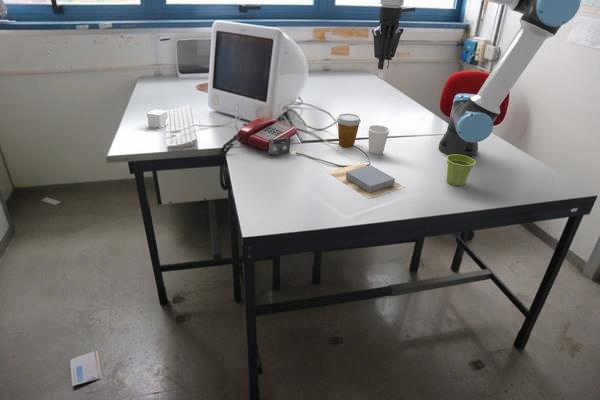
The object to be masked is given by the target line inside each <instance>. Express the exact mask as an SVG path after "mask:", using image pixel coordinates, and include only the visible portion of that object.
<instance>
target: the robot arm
mask: <svg viewBox="0 0 600 400" xmlns="http://www.w3.org/2000/svg"><path fill="white" fill-rule="evenodd" d="M483 1H485V2H489V3H493V4H498V5H503V6H507V7H508V8H509V10H510V11H513V12H516V13H520V14H522V16H521V17H520V18H519V23H520V28H519V29H518V30H517V32H516V34H515V35H514V37H513V39H512V40H511V42H509V44H508V46H507V48H506V49H505V50H504V52H503V54H502V55H501V56H500V58H499V60H498V61H497V63H496V64H495V66H494V67H493V69H492V70H491V72H490V74H489V75H488V77H487V78H486V79H485V81H484V83H483V84H482V86H481V87H480V89H479V90H478V92H477V94H475V93H457V94H456V95H455V96H454V98H453V100H452V106H451V111H450V115H449V119H448V123H447V129H446V131H445V133H444V134H443V136H442V137H441V140H440V141H439V144H438V150H439V152H441V153H443V154H445V155H447V156H449V155H453V154H459V155H465V156H468V157H471V158H474V157H476V156H477V154H478V151H479V142H483V141H484V140H486V139H488V137H490V136H491V135H492V132H493V129H494V122H495V121H496V119H497V118H498V116H499V115H500V114H501V108H500V106H501V104H502V103H503V101H504V100H505V99H506V97H507V96H508V95H509V93H510V92H511V91H512V88H513V87H514V86H515V84H516V83H517V81H518V80H519V78H521V76H522V75H523V73H524V72H525V71H526V69H527V67H528V66H529V64H530V63H531V61H532V60H533V59H534V57H535V56H536V54H537V53H538V51H539V50H540V49H541V47H542V46H543V44H544V43H545V42H546V40H547V39H550V38H553V37H555V35H556V34H557V33H558V32H559V30H560V29H561V27H562V26H563V25H566V24H567V23H569V22H570V21H571V20H572V19H573V18H575V16H576V15H577V13H578V11H579V9H580V6H581V1H582V0H483ZM404 2H405V0H380V3H379V4H380V5H381V6H379V12H378V19H379V22H378V24H377V27H376V28H372V29H371V33H372V36H373V52H374V58H376V59H377V60H378V63H377V69H378V72H377V79H379V80H380V79H381V80H386V79H387V73H388V69H389V63H390V61H392V60H393V58H394V57H395V55H396V53H397V49H398V46H399V44H400V43H399V42H400V39H401V36H402V34H403V32H404V28H403V27H401V26H400V20H401V19H402V14H403V8H402V7H403V6H404Z"/></svg>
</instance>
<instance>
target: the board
mask: <svg viewBox="0 0 600 400" xmlns="http://www.w3.org/2000/svg"><path fill="white" fill-rule="evenodd" d="M366 166H367V165H366V164H364V163H362V162H359V163H355V164H353V165H348V166H345V167H341V168H336V169H333V170H329V171H326V173H328V174H329V175H331V177H334V178H336V179H337V180H338V181H340V182H341V183H343V184H345V185H346V186H348V187H349V188H351V189H352V190H354V191H356V193H359V194H360V195H362V196H364V197H365V198H366V199H368V200H371V199H374V198H378V197H380V196H383V195H385V194H388V193H391V192H395V191H398V190H400V189H404V188H405V186H404V185H402V184H400V183H398V181H397V182H396V181H395V182H394V185H392V186H389V187H386V188H383V189H380V190H377V191H374V192H371V193H369V192H367V191H366V190H364V189H362V188H361V187H359V186H358V185H356V184H354V183H353V182H351V181H350V180H348V179H346V172H348V171H351V170H355V169H359V168H362V167H366Z"/></svg>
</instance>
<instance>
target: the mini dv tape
mask: <svg viewBox="0 0 600 400" xmlns="http://www.w3.org/2000/svg"><path fill="white" fill-rule="evenodd" d="M268 143H269V150H268V149H267V150H268V152H267V154H268V155H269V156H270V154H272V155H278V154H289V153H290V152H291V151H290V150H291V149H290V147H291V138H290V137H289V136H287V137H277V138H270V139H268ZM288 152H289V153H288Z"/></svg>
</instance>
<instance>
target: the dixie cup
mask: <svg viewBox="0 0 600 400" xmlns="http://www.w3.org/2000/svg"><path fill="white" fill-rule="evenodd" d="M367 130H368V152H369V153H372V154H374V155H375V154H376V155H377V154H380V155H383V154H384V151H385V148H386V144H387V140H388V136H389V133H390V131H391V129H390V128H389V127H388V126H384V125H380V124H379V125H378V124H373V125H370V126H368V127H367Z"/></svg>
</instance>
